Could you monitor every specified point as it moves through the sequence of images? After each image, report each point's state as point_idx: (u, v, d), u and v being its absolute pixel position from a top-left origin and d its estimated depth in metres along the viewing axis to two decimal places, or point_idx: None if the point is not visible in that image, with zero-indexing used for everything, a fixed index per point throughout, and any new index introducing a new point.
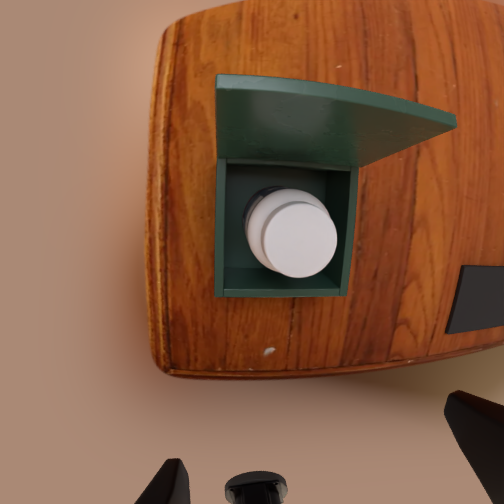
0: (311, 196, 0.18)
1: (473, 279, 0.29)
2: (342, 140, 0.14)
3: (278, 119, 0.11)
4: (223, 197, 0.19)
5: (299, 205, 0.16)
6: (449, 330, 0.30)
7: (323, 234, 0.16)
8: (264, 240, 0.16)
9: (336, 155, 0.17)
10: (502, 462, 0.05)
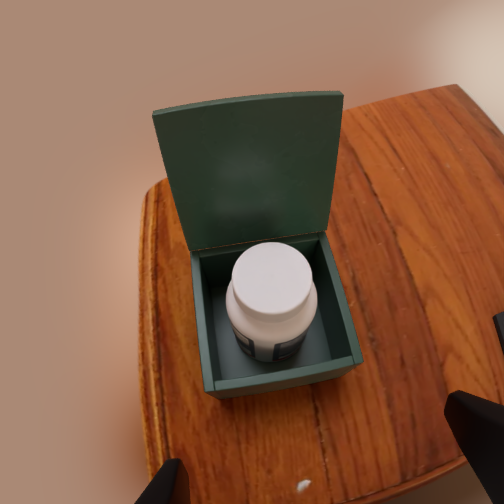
0: None
1: None
2: (277, 172, 0.17)
3: (209, 150, 0.15)
4: (200, 286, 0.20)
5: (260, 244, 0.16)
6: None
7: (293, 264, 0.16)
8: (232, 282, 0.15)
9: (289, 209, 0.19)
10: (502, 462, 0.05)
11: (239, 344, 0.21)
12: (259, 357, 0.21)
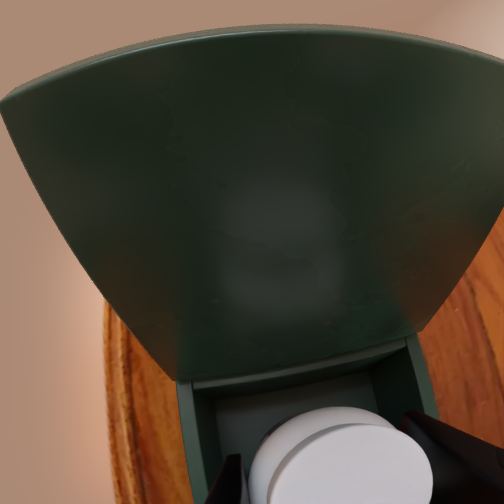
0: (355, 410, 0.08)
1: None
2: (382, 257, 0.06)
3: (203, 210, 0.05)
4: (197, 447, 0.09)
5: (334, 434, 0.06)
6: None
7: (401, 471, 0.05)
8: None
9: (379, 317, 0.08)
10: (455, 492, 0.05)
11: None
12: None
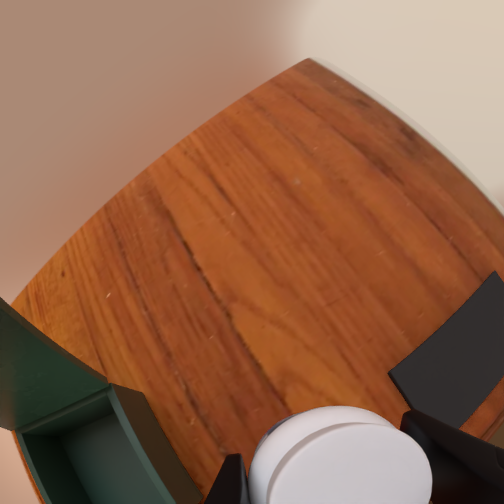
0: (355, 409, 0.08)
1: (418, 371, 0.21)
2: (9, 377, 0.11)
3: None
4: (31, 462, 0.13)
5: (333, 434, 0.06)
6: None
7: (401, 471, 0.05)
8: None
9: (53, 390, 0.13)
10: (455, 492, 0.05)
11: None
12: None
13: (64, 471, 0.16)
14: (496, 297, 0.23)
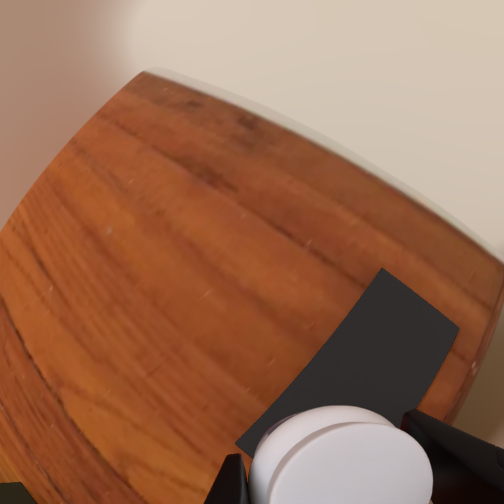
0: (355, 409, 0.08)
1: None
2: None
3: None
4: None
5: (334, 433, 0.06)
6: None
7: (401, 470, 0.05)
8: None
9: None
10: (455, 492, 0.05)
11: None
12: None
13: None
14: (388, 305, 0.21)
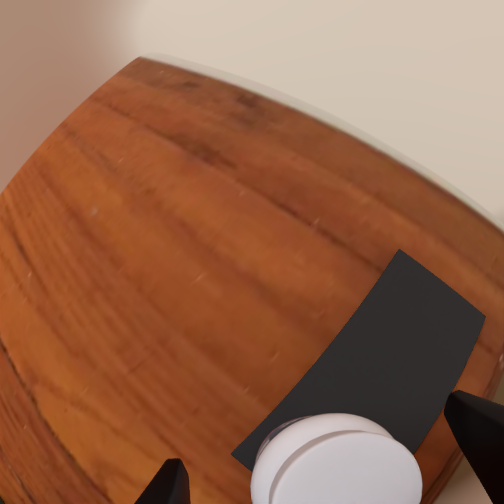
0: (351, 417, 0.09)
1: None
2: None
3: None
4: None
5: (330, 441, 0.06)
6: None
7: (392, 475, 0.06)
8: None
9: None
10: (502, 462, 0.05)
11: None
12: None
13: None
14: (408, 290, 0.18)
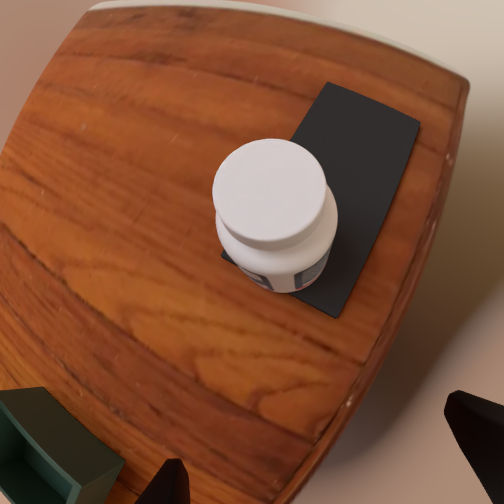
0: None
1: None
2: None
3: None
4: (0, 487, 0.12)
5: (242, 146, 0.11)
6: (329, 312, 0.18)
7: (294, 163, 0.11)
8: (216, 207, 0.11)
9: None
10: (502, 462, 0.05)
11: (251, 279, 0.17)
12: (279, 289, 0.17)
13: (33, 484, 0.16)
14: (340, 108, 0.21)
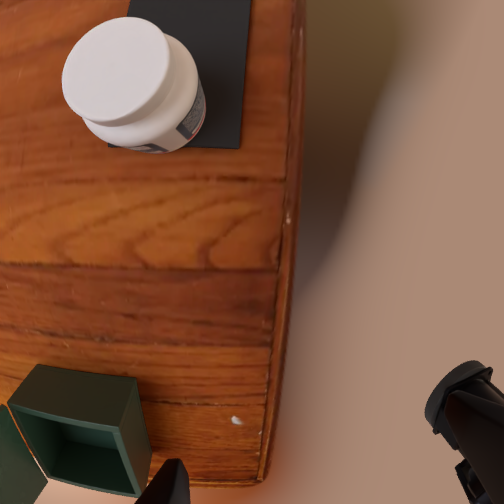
0: None
1: None
2: None
3: None
4: (71, 482, 0.17)
5: (75, 46, 0.08)
6: (229, 145, 0.18)
7: (128, 34, 0.08)
8: (74, 110, 0.09)
9: (3, 450, 0.13)
10: (502, 462, 0.05)
11: None
12: (172, 148, 0.16)
13: (89, 456, 0.21)
14: None
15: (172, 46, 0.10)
